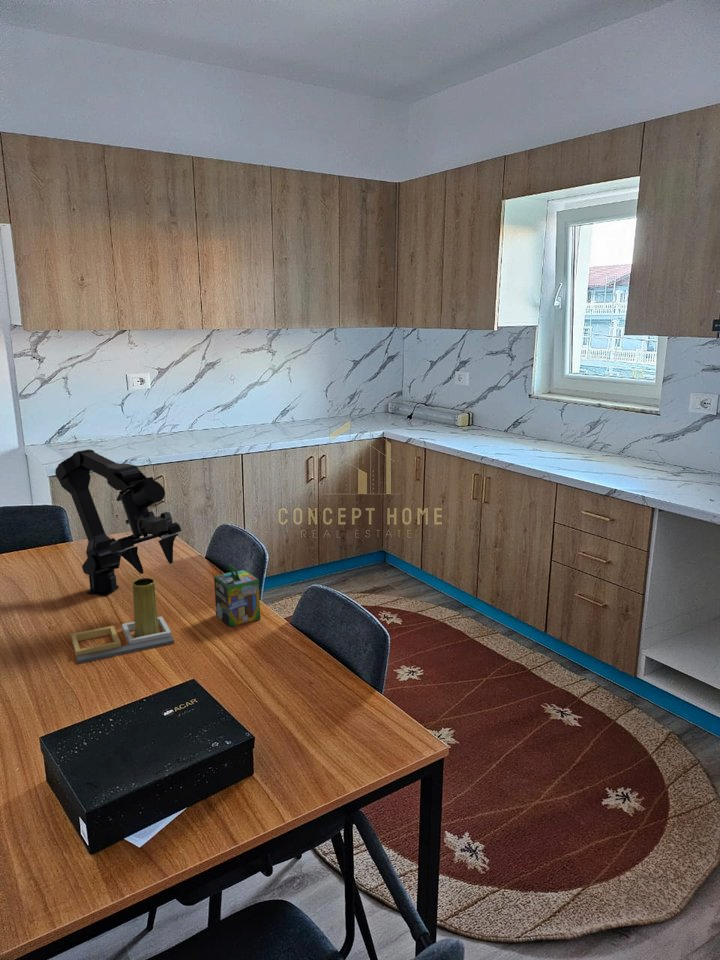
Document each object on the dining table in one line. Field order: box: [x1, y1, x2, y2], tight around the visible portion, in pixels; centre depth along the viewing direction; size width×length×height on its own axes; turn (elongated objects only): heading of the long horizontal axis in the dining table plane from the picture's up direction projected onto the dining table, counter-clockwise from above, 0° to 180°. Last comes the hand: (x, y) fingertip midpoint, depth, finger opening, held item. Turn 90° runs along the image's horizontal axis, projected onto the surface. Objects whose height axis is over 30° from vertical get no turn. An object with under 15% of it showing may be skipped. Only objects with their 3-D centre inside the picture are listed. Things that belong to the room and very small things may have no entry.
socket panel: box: [70, 616, 175, 664], centre depth 167 cm, size 22×12×2 cm, turn 118°
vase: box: [131, 577, 160, 638], centre depth 169 cm, size 6×6×14 cm
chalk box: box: [213, 563, 261, 628], centre depth 180 cm, size 9×9×15 cm
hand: (157, 568), depth 179 cm, fingers open, 9 cm apart
